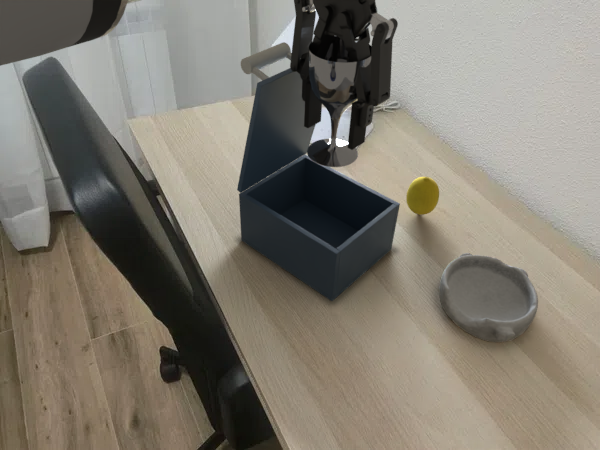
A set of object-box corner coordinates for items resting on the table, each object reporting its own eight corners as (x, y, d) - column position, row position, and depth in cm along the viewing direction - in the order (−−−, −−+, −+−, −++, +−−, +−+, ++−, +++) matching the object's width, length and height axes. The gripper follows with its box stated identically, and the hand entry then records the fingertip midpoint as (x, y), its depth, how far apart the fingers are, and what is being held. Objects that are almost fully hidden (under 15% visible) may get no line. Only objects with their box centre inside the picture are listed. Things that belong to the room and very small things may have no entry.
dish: (513, 362, 75) (524, 339, 72) (420, 316, 81) (426, 293, 77) (543, 297, 84) (553, 274, 81) (457, 260, 90) (464, 237, 87)
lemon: (440, 217, 98) (450, 181, 93) (417, 227, 96) (425, 191, 91) (420, 200, 102) (428, 164, 96) (396, 210, 99) (403, 173, 94)
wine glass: (335, 176, 73) (345, 68, 63) (292, 152, 77) (294, 47, 67) (372, 152, 77) (386, 49, 67) (329, 131, 81) (337, 30, 71)
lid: (338, 50, 79) (301, 23, 81) (261, 86, 70) (221, 54, 72) (306, 153, 94) (276, 128, 97) (240, 193, 85) (208, 164, 88)
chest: (391, 249, 91) (400, 203, 85) (331, 301, 82) (336, 254, 76) (303, 198, 101) (305, 154, 95) (241, 240, 92) (238, 193, 86)
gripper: (446, -36, 57) (410, 151, 72) (303, -72, 67) (298, 99, 82) (405, -20, 53) (376, 175, 68) (259, -61, 63) (262, 117, 78)
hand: (333, 133), depth 75 cm, fingers closed on wine glass, 7 cm apart
